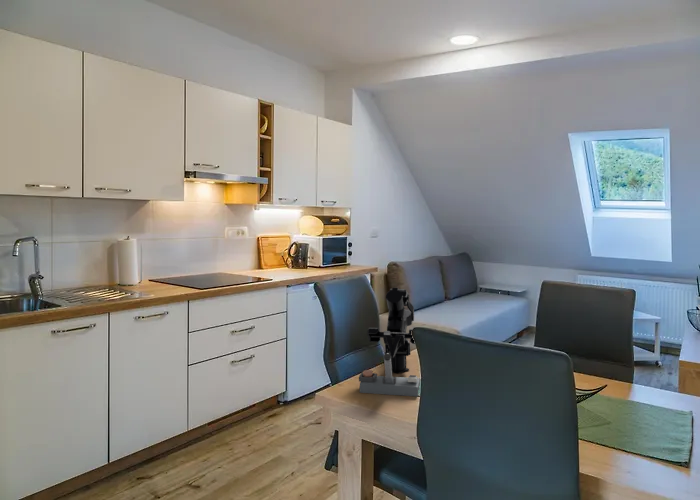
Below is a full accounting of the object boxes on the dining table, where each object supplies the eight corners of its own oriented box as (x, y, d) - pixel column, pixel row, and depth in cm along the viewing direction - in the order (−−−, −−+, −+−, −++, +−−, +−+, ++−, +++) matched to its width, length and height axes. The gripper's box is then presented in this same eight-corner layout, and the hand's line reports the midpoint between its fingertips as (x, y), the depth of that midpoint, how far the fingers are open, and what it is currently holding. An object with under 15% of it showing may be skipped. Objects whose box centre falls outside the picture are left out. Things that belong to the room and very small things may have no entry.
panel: (362, 383, 178) (362, 369, 177) (419, 387, 173) (419, 373, 173) (357, 392, 169) (357, 378, 168) (417, 396, 165) (417, 381, 164)
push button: (364, 374, 174) (364, 369, 174) (373, 374, 174) (373, 370, 173) (362, 377, 171) (362, 372, 171) (371, 377, 170) (371, 373, 170)
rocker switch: (409, 379, 172) (409, 374, 172) (417, 379, 171) (417, 375, 171) (407, 381, 167) (407, 377, 168) (416, 382, 167) (416, 377, 167)
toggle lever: (386, 378, 170) (383, 351, 164) (393, 378, 169) (391, 351, 164) (385, 383, 168) (382, 356, 162) (392, 383, 167) (390, 356, 162)
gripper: (422, 331, 190) (420, 369, 180) (373, 329, 194) (368, 366, 184) (421, 314, 181) (419, 354, 171) (369, 313, 185) (364, 351, 175)
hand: (392, 357), depth 176 cm, fingers closed
